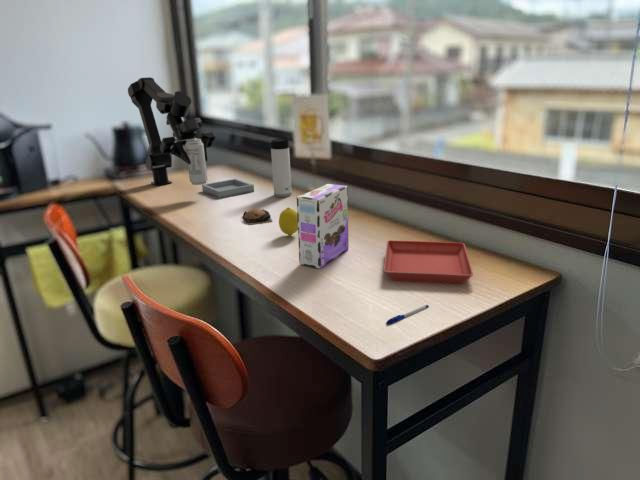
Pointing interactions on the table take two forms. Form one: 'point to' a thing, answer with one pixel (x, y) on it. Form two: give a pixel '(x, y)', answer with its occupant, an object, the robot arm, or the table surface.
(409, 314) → the ballpoint pen
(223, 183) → the tray
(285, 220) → the lemon
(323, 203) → the candy box
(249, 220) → the abalone
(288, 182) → the travel mug
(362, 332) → the table surface
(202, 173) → the energy drink can
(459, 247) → the plant saucer
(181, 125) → the robot arm
